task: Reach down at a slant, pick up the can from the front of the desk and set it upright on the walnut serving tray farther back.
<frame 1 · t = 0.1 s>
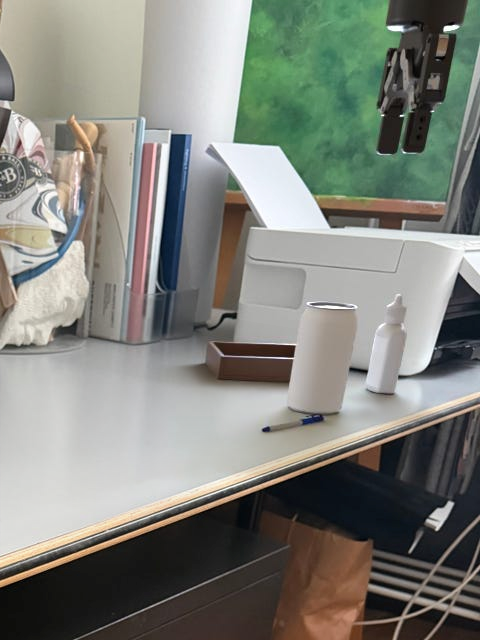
hand: (398, 153, 102), 28 cm above the table, tool pointing down, fingers open, 8 cm apart
eye dropper bottle: (379, 391, 125), on the table
ballpoint pen: (293, 429, 106), on the table
can: (312, 410, 114), on the table
tray: (261, 372, 133), on the table
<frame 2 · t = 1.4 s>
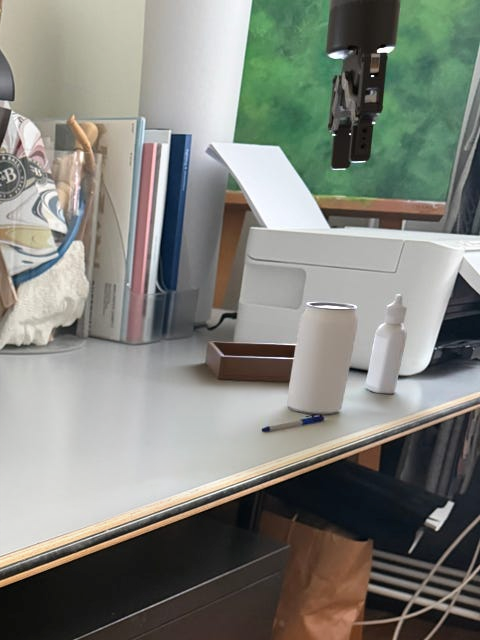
hand: (349, 165, 111), 26 cm above the table, tool pointing down, fingers open, 8 cm apart
nothing on the table moved.
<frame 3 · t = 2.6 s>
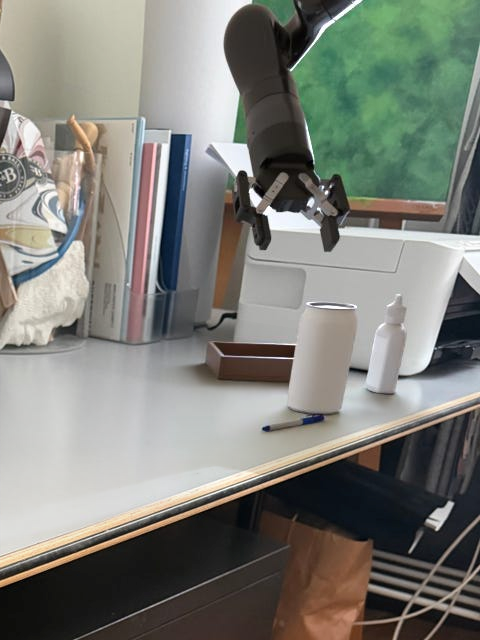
hand: (298, 246, 116), 17 cm above the table, tool tilted 45°, fingers open, 8 cm apart
nothing on the table moved.
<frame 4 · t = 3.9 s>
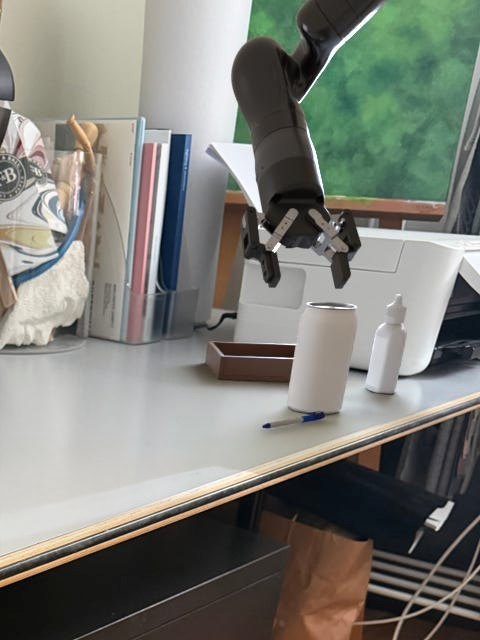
hand: (308, 284, 114), 14 cm above the table, tool tilted 45°, fingers open, 8 cm apart
nothing on the table moved.
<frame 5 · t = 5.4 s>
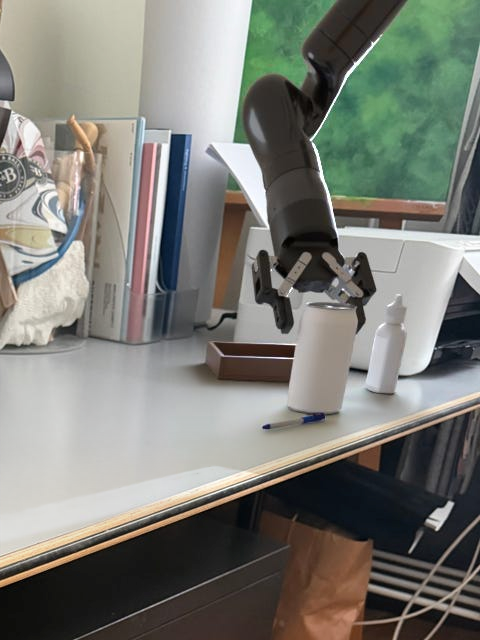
hand: (322, 330, 110), 9 cm above the table, tool tilted 45°, fingers open, 8 cm apart
nothing on the table moved.
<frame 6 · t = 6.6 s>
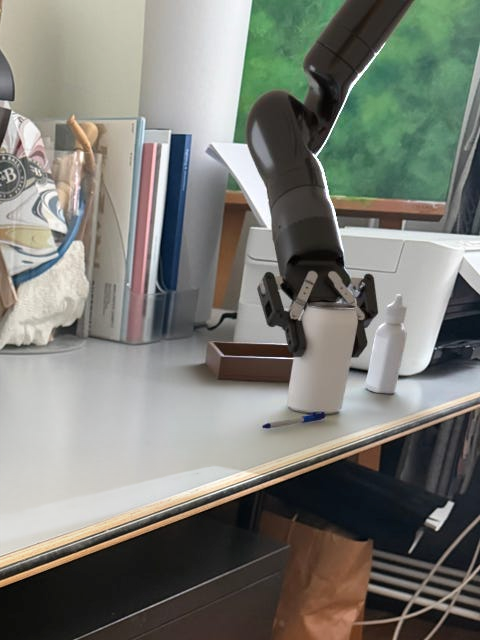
hand: (329, 353, 109), 7 cm above the table, tool tilted 45°, fingers closed on can, 6 cm apart
can: (312, 410, 114), on the table, touching gripper
everything else where it was.
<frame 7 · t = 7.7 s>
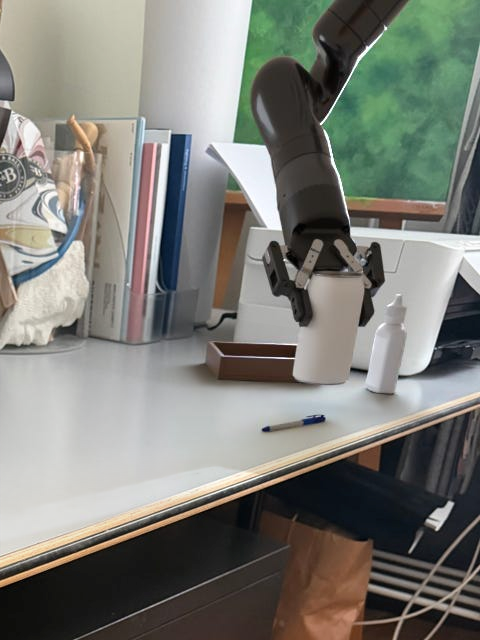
hand: (335, 322, 108), 10 cm above the table, tool tilted 45°, fingers closed on can, 6 cm apart
can: (319, 381, 112), point 3 cm above the table, touching gripper
everything else where it was.
when the fingers open (7 cm above the table, at t = 15.5 s): can stays where it is, resting on tray.
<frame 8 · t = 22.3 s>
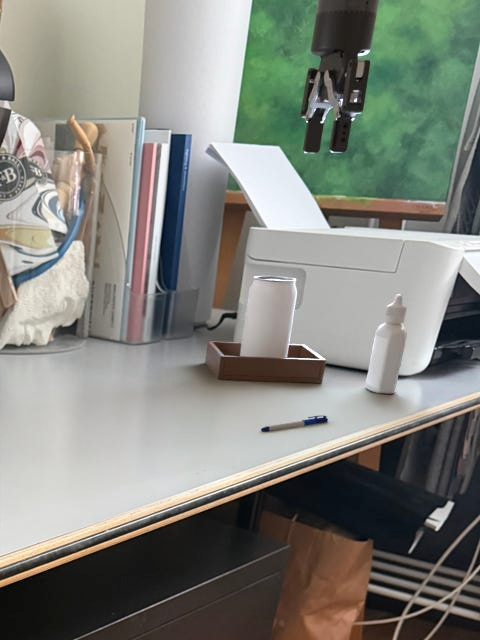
hand: (323, 152, 128), 28 cm above the table, tool pointing down, fingers open, 8 cm apart
can: (261, 369, 133), resting on tray
everything else where it was.
at the end: can inside the target area in the tray (0.2 cm from its centre), point 0.4 cm above the tray's base; can tilted 0°; the gripper is holding nothing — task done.
